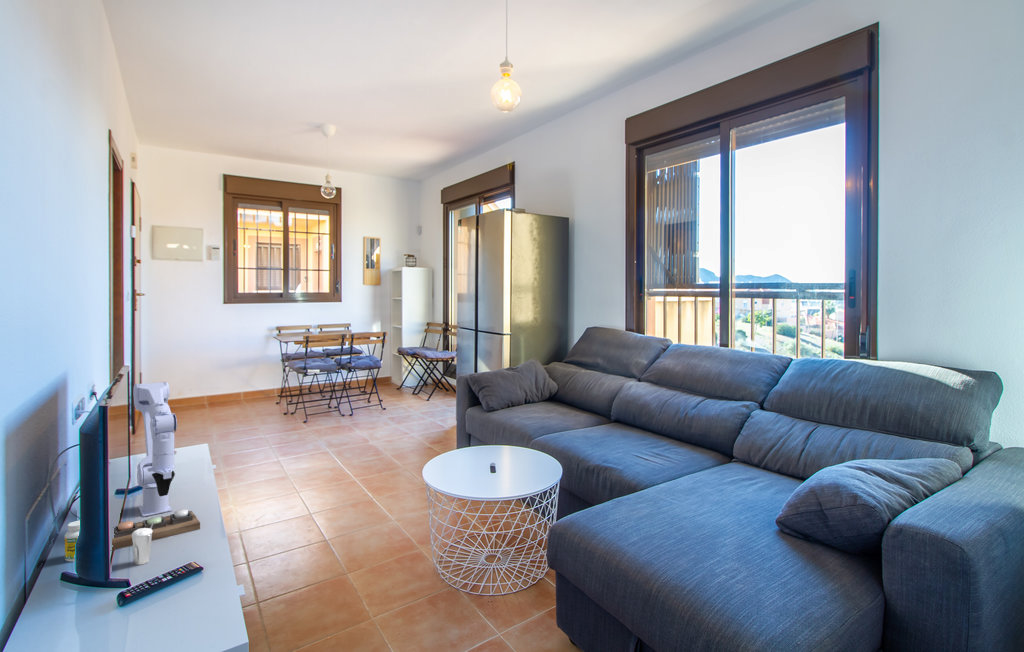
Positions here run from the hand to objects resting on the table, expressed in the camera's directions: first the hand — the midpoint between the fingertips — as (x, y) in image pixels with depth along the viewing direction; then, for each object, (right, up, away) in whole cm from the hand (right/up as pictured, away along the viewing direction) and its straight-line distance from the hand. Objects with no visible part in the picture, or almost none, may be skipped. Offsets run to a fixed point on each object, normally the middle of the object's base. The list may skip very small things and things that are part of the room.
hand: (163, 495), depth 159 cm
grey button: (+6, -7, -1) cm, 9 cm away
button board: (+1, -10, -5) cm, 11 cm away
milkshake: (+10, -11, -23) cm, 27 cm away
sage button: (+1, -7, -5) cm, 9 cm away
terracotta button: (-4, -7, -10) cm, 13 cm away
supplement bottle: (-9, -10, -21) cm, 25 cm away
